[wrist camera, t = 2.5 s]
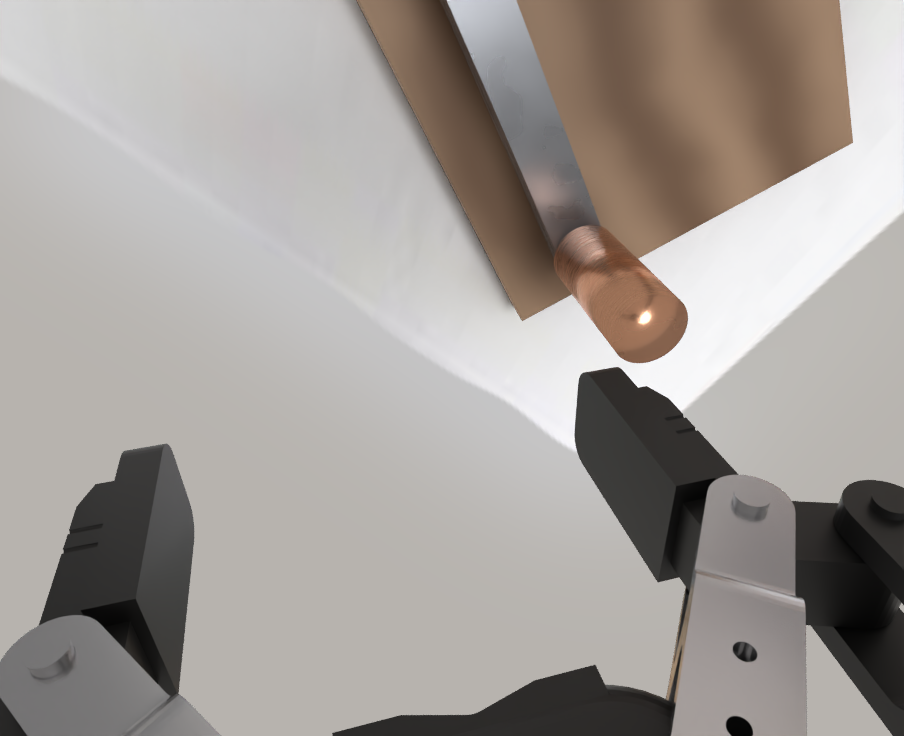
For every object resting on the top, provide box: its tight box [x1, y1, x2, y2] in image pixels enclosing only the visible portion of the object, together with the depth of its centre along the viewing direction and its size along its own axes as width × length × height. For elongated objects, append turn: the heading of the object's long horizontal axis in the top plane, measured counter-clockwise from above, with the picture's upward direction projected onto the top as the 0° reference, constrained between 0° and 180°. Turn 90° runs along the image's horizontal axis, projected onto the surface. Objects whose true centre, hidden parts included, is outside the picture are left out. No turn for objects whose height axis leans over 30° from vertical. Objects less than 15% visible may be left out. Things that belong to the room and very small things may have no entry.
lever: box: [440, 0, 688, 363], centre depth 26 cm, size 4×22×10 cm, turn 27°
